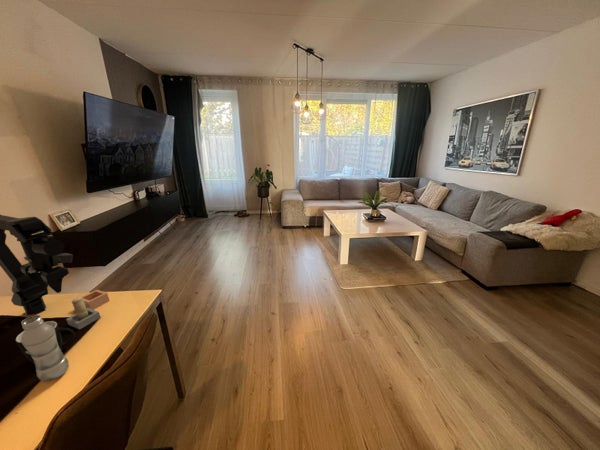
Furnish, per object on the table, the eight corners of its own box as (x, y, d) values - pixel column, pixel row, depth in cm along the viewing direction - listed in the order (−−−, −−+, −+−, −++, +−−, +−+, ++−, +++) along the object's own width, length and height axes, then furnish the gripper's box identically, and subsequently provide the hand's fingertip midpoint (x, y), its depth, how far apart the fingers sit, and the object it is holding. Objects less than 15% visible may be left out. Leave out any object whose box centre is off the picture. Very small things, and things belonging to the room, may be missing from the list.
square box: (81, 308, 100) (77, 298, 98) (100, 299, 106) (97, 289, 105) (91, 312, 98) (88, 302, 96) (110, 302, 104) (107, 292, 102)
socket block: (69, 326, 90) (66, 319, 89) (90, 315, 96) (87, 307, 95) (80, 331, 88) (77, 323, 86) (101, 319, 94) (98, 311, 93)
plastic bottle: (53, 366, 74) (29, 312, 68) (77, 364, 74) (54, 310, 68) (33, 386, 68) (4, 329, 61) (59, 383, 68) (32, 327, 62)
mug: (24, 373, 72) (10, 347, 68) (32, 353, 79) (20, 329, 75) (77, 354, 78) (66, 329, 75) (80, 337, 85) (71, 313, 82)
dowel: (78, 323, 91) (69, 301, 88) (87, 318, 94) (79, 296, 90) (83, 325, 90) (74, 303, 87) (92, 320, 93) (84, 298, 89)
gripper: (79, 247, 89) (91, 283, 94) (52, 240, 96) (64, 275, 101) (39, 260, 80) (55, 300, 85) (12, 252, 86) (28, 289, 91)
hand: (52, 289), depth 91 cm, fingers open, 9 cm apart
